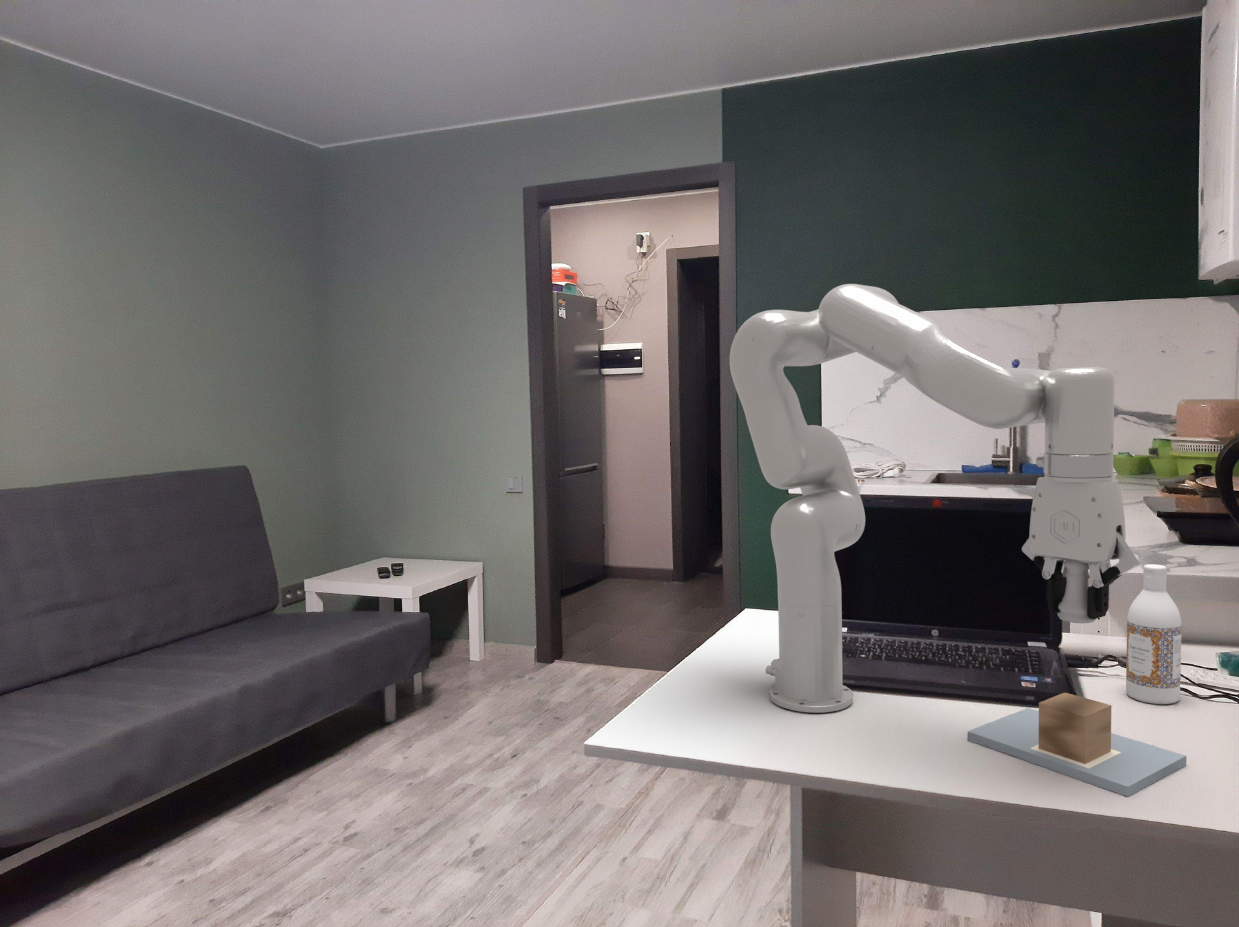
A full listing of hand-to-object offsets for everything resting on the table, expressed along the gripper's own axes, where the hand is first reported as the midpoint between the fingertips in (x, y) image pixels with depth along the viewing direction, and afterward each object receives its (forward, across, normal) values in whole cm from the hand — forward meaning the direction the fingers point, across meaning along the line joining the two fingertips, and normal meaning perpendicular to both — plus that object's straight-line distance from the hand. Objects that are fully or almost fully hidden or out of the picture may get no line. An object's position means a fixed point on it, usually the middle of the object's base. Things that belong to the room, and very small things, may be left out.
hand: (1076, 611), depth 111 cm
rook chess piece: (+1, 0, 0) cm, 1 cm away
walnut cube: (+18, 0, 0) cm, 18 cm away
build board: (+19, -2, +2) cm, 19 cm away
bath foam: (+19, -5, +30) cm, 36 cm away
